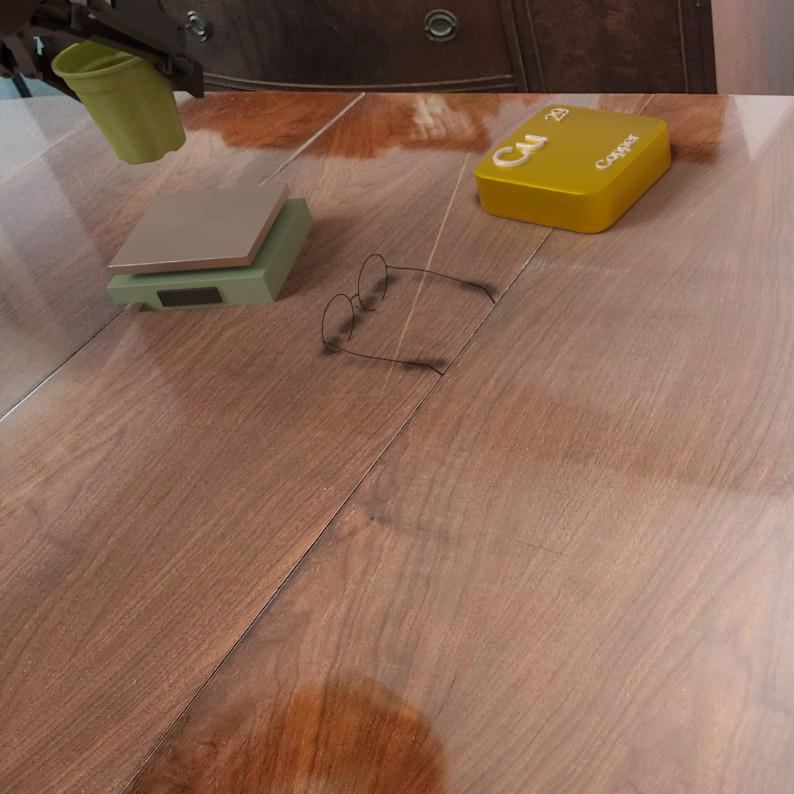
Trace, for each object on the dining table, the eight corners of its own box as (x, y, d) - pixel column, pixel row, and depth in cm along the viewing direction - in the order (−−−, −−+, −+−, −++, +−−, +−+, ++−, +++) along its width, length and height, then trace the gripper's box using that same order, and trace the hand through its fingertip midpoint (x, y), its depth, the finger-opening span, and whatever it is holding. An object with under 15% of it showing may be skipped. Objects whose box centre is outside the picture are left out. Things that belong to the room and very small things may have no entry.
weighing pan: (112, 275, 105) (107, 266, 104) (161, 203, 114) (157, 194, 113) (250, 265, 103) (246, 255, 102) (290, 192, 111) (287, 182, 110)
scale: (118, 316, 108) (99, 281, 105) (171, 236, 117) (154, 201, 114) (273, 305, 105) (258, 269, 102) (314, 224, 114) (301, 188, 111)
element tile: (601, 238, 104) (594, 190, 101) (474, 213, 111) (462, 167, 107) (679, 160, 112) (674, 113, 108) (555, 141, 118) (547, 96, 115)
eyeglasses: (501, 297, 100) (489, 247, 96) (438, 384, 93) (421, 334, 89) (394, 286, 104) (378, 237, 100) (325, 369, 97) (305, 320, 93)
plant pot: (115, 134, 102) (67, 37, 96) (213, 116, 102) (172, 16, 95) (89, 184, 96) (37, 82, 90) (195, 164, 95) (149, 61, 89)
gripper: (-179, 35, 78) (36, 142, 100) (106, 1, 74) (265, 120, 96) (-186, -76, 78) (31, 56, 100) (100, -117, 74) (261, 30, 96)
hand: (146, 87), depth 98 cm, fingers closed on plant pot, 9 cm apart
